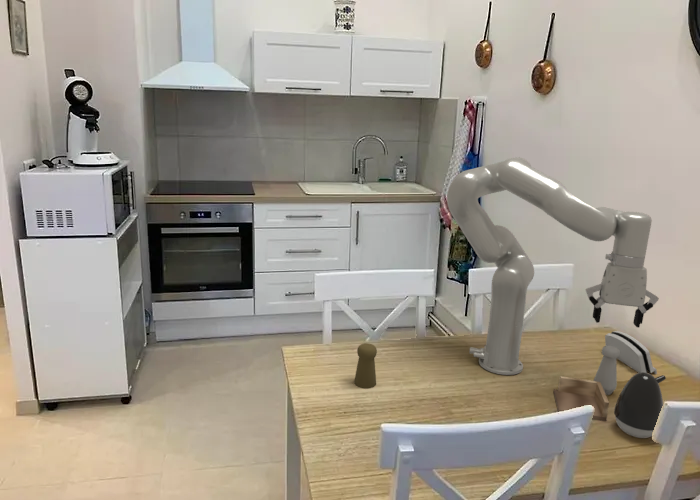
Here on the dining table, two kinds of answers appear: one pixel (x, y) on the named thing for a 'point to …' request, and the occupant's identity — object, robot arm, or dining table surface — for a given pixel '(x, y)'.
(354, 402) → the dining table surface
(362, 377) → the brown pawn
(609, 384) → the salt shaker
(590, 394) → the corner tray
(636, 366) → the white rounded block
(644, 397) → the pump dispenser
